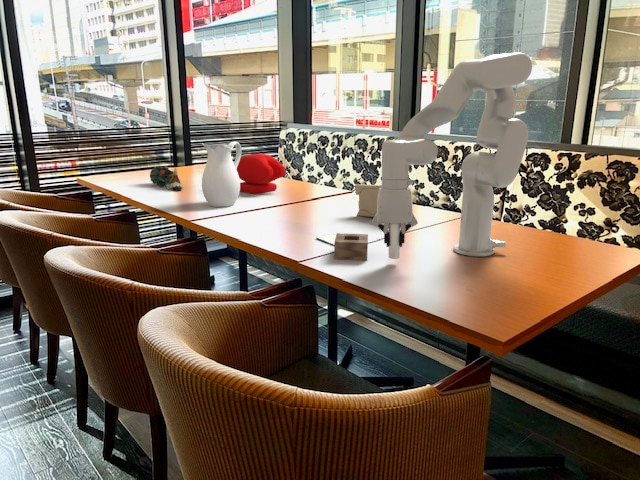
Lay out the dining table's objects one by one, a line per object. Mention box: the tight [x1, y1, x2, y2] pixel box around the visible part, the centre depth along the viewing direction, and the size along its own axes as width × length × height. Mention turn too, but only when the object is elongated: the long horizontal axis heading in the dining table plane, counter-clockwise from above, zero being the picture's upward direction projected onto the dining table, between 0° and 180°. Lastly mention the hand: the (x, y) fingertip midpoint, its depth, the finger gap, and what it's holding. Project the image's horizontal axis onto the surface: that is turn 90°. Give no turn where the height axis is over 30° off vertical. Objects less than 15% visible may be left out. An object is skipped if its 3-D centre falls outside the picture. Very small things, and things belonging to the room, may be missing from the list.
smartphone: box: [316, 233, 336, 247], centre depth 176 cm, size 8×1×16 cm
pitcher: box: [201, 141, 243, 208], centre depth 234 cm, size 24×17×28 cm
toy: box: [236, 153, 286, 195], centre depth 265 cm, size 16×20×30 cm
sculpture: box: [149, 165, 183, 192], centre depth 275 cm, size 13×13×30 cm
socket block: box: [333, 233, 369, 261], centre depth 161 cm, size 10×10×6 cm
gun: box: [354, 183, 407, 225], centre depth 206 cm, size 24×3×15 cm, turn 47°
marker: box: [388, 223, 401, 260], centre depth 151 cm, size 3×3×12 cm
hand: (394, 245), depth 152 cm, fingers closed on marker, 3 cm apart
